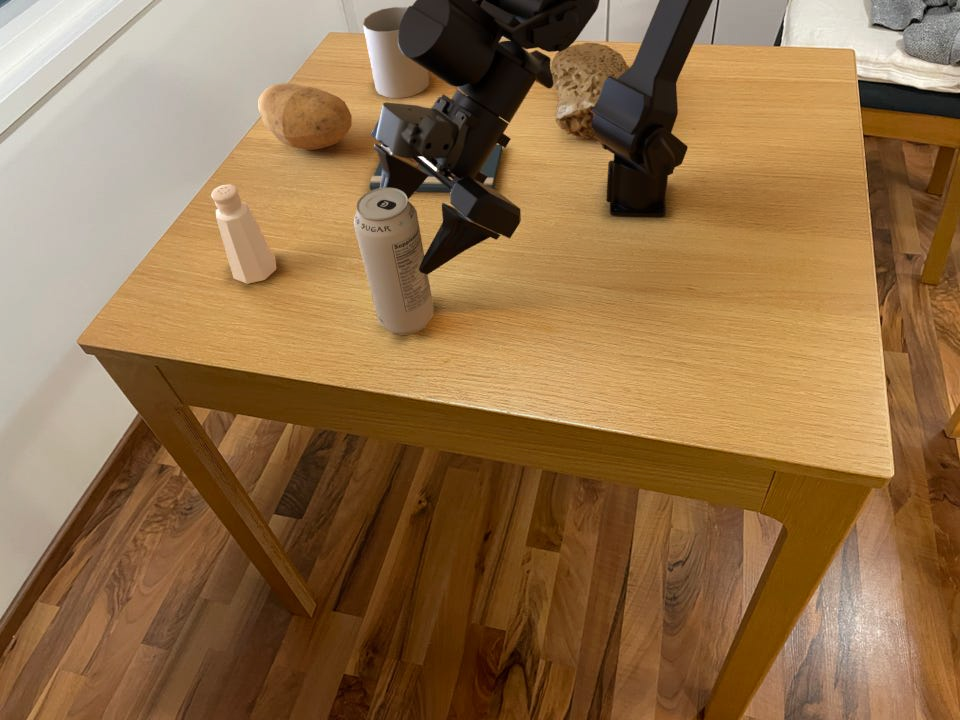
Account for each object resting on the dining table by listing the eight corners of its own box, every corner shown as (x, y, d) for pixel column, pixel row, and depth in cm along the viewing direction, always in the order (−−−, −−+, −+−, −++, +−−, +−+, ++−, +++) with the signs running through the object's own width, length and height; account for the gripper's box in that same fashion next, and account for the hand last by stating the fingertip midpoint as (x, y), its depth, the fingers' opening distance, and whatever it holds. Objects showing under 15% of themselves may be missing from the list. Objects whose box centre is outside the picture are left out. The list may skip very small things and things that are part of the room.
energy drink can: (399, 293, 83) (374, 178, 72) (445, 309, 80) (426, 192, 69) (368, 327, 79) (336, 212, 68) (414, 345, 77) (389, 229, 66)
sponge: (631, 154, 100) (649, 55, 109) (621, 107, 93) (642, 7, 103) (537, 160, 105) (562, 66, 114) (522, 117, 98) (550, 21, 108)
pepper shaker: (224, 268, 88) (190, 190, 80) (265, 248, 90) (236, 170, 82) (243, 291, 85) (210, 212, 77) (286, 269, 87) (257, 190, 79)
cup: (427, 96, 112) (417, 29, 105) (373, 99, 113) (360, 34, 106) (430, 69, 118) (421, 4, 111) (379, 73, 119) (367, 9, 111)
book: (502, 149, 101) (502, 142, 100) (492, 193, 94) (491, 185, 93) (388, 148, 103) (386, 141, 103) (370, 190, 97) (368, 183, 96)
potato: (333, 172, 100) (319, 118, 94) (254, 151, 106) (236, 98, 100) (374, 136, 106) (363, 83, 100) (298, 117, 111) (283, 66, 105)
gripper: (370, 32, 69) (292, 179, 73) (484, 109, 57) (383, 278, 62) (451, 84, 77) (377, 214, 81) (564, 161, 66) (471, 306, 70)
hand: (398, 248), depth 73 cm, fingers open, 9 cm apart
